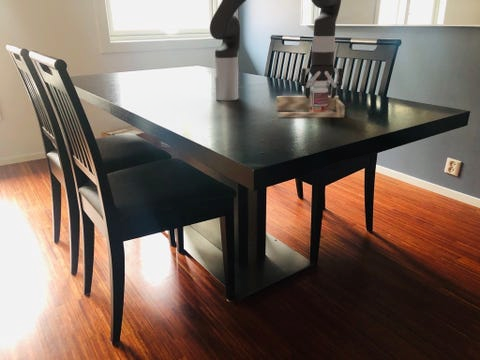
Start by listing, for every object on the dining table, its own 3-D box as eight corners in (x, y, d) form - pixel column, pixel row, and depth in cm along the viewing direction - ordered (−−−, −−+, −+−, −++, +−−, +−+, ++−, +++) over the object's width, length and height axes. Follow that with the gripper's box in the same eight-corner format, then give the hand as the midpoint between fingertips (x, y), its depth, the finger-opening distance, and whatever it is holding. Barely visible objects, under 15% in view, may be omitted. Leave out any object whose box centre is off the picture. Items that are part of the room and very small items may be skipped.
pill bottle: (330, 112, 139) (333, 80, 135) (318, 115, 136) (320, 82, 132) (318, 109, 144) (320, 78, 140) (305, 112, 141) (307, 80, 137)
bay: (277, 117, 135) (278, 103, 133) (276, 109, 147) (276, 96, 145) (343, 117, 134) (345, 103, 132) (336, 109, 146) (338, 95, 144)
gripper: (303, 51, 129) (300, 100, 135) (346, 50, 128) (342, 100, 134) (300, 49, 136) (298, 96, 142) (342, 49, 135) (338, 96, 141)
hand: (319, 98), depth 138 cm, fingers open, 8 cm apart
